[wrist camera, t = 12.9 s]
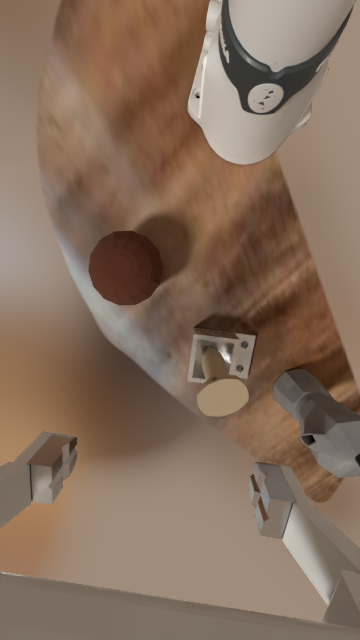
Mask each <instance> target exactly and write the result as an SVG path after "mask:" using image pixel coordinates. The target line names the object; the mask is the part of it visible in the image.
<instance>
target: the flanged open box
mask: <svg viewBox="0 0 360 640" xmlns="http://www.w3.org/2000/svg"><path fill="white" fill-rule="evenodd" d="M255 338H256V336H255V335H253V334H245V333H237V332H229V331H221V330H212V329H204V328H196V327H193V333H192V341H191V348H190V356H189V363H188V376H187V381H191V382H199V383H204V382H206V379H205V375H204V372H203V368H202V357H203V356H202V354H203V352H204V351H205V350H206V348H207V347H209V346H210V347H212V348H214V347H216V348H217V349H218V351H219V352H220V353H221V354H222V356H223V358H224V360H225V363H226V366H227V370H228V374H229V375H236V376H238V377H239V378H246V379H247V377H248V372H249V367H250V362H251V357H252V352H253V347H254V343H255Z"/></svg>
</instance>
